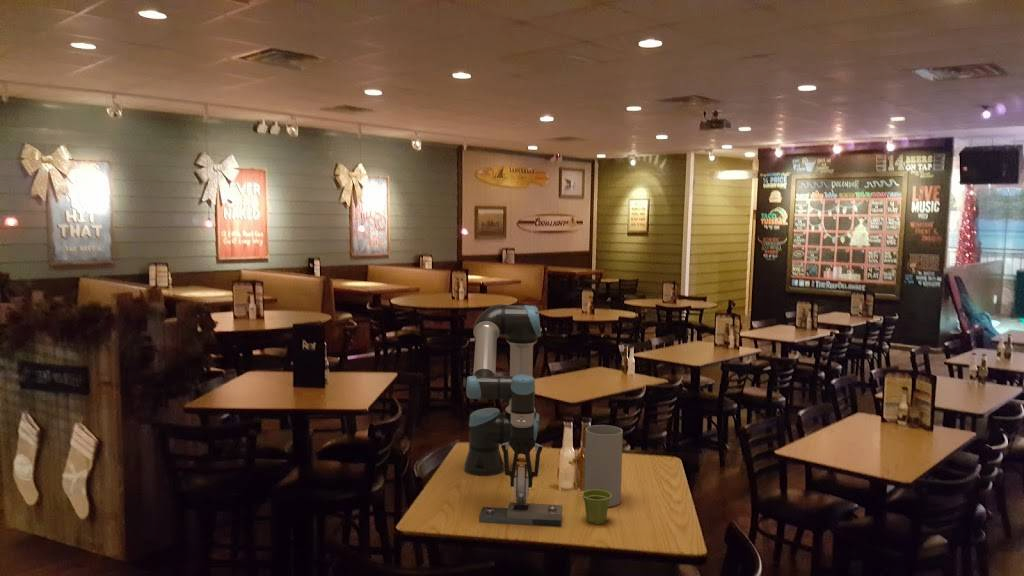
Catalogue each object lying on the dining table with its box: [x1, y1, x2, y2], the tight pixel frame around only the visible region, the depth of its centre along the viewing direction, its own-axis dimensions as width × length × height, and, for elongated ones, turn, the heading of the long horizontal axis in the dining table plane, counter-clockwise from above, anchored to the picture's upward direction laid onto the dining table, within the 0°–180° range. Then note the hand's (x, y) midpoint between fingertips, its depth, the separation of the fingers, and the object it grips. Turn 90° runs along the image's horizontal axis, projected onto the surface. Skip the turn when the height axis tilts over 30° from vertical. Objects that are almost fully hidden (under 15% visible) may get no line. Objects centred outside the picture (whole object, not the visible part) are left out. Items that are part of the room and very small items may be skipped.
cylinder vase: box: [583, 424, 624, 508], centre depth 253 cm, size 12×12×25 cm
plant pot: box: [581, 490, 612, 525], centre depth 237 cm, size 9×9×9 cm
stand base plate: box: [478, 501, 563, 528], centre depth 237 cm, size 26×8×5 cm, turn 84°
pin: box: [515, 457, 528, 505], centre depth 236 cm, size 4×4×14 cm
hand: (521, 496), depth 236 cm, fingers closed on pin, 3 cm apart
